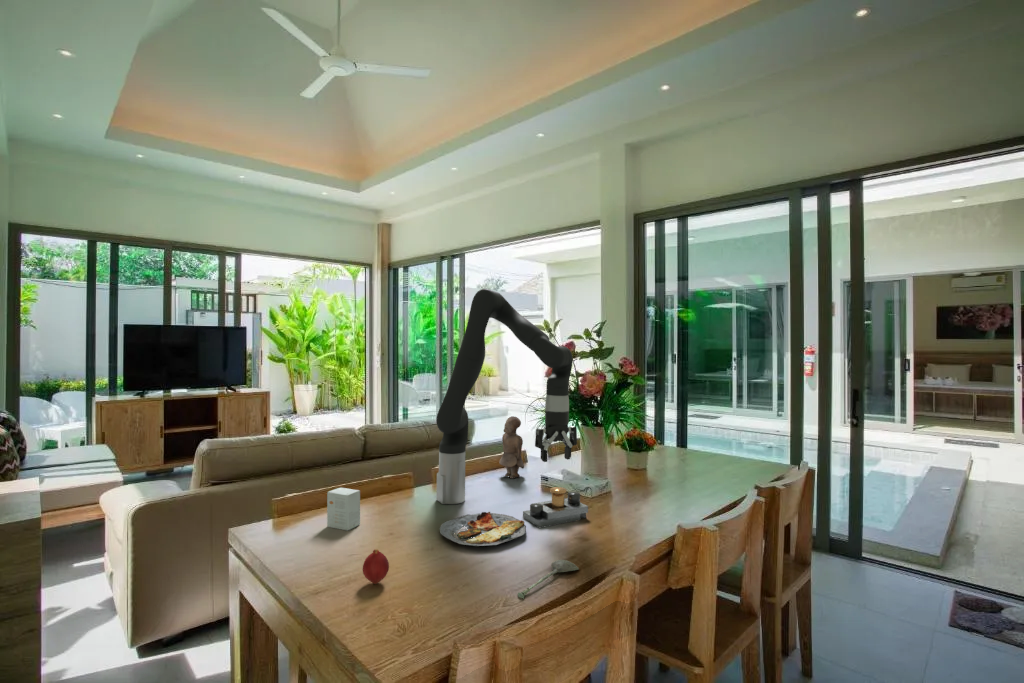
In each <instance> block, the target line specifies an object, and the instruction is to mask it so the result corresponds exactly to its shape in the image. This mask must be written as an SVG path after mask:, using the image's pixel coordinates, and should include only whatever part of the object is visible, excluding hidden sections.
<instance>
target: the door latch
mask: <svg viewBox="0 0 1024 683" xmlns="http://www.w3.org/2000/svg"><path fill="white" fill-rule="evenodd" d="M587 513H589V506H588V505H586V504H584V503H582V502H581V493H580V492H579V491H568V492H567V498H565V497H564V508H560V509H554V510H552V500H547V501H546V500H545V501H540V502H534V503H530V505H529V510H523V511H522V518H523V519H524V518H525V520H526V521H528V522H530V523H531V524H532V523H533V524H532V525H534V526H535V525H536V526H535V527H537V526H538V527H537V528H539V527H541V528H545V527H544V526H546V527H550V526H549V525H552V526H556V525H555V524H557V525H560V524H561V523H562V524H567V523H566V522H568V523H572V522H571V521H573V522H577V521H576V520H579V521H580V520H581V519H580V518H583V519H587ZM562 524H561V525H562Z"/></svg>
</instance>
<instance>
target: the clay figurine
mask: <svg viewBox="0 0 1024 683" xmlns="http://www.w3.org/2000/svg"><path fill="white" fill-rule="evenodd" d="M521 425H522V422H521V420H520V418H519V417H517V416H509V417H507V419H506V420H505V423H504V427H503V428H504V429H503V434H502V450H503V454H502V456H501V458H500V459H499V461H498V463H499V465H501V466H502V467H505V469H506V473H505V475H504V476H509V477H510V478H509V479H516V478H519V477H520V476H521V475H520V474H519V473H518V472H519V469H520V468H521V469H524V468H525V464H524V461H523V458H522V448H523V444H524V443H523V442H524V440H523V438H522V436H520V434H519V435H518V433H517V430H518V429H519V428H520V427H521ZM515 477H516V478H515Z"/></svg>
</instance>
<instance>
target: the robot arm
mask: <svg viewBox="0 0 1024 683" xmlns="http://www.w3.org/2000/svg"><path fill="white" fill-rule="evenodd" d="M490 319H494V320H496V321H498V322H499V323H502V324H503V325H504V326H506V327H507V328H508V329H509V330H510V331H511V332H512V334H513V335H514V336H515V337H516V339H518V340H519V342H521V343H522V344H523V345H524V346H526V347H527V348H528V349H529V350H531V351H532V352H533V353H535V355H536V356H537V358H538V359H539V360H540V361H541V362H542V363H543V364H544V365H545V366H547V367H548V368H550V369H551V374H550V376H549V377H548V378H547V380H546V390H545V391H546V392H545V393H546V395H545V401H544V402H545V403H544V404H545V405H544V406H545V408H544V409H545V412H544V423H545V427H544V428H539V427H537V428H535V439H534V447H535V448H538V449H540V460H541V461H542V462H544V463H547V462H548V448H549V447H550V445H551V444H552V443H553V442H554V443H556V442H562V443H563V444H564V459H565V460H568V461H569V460H570V459H571V457H572V447H573V446H577V444H578V436H577V435H578V433H577V427H576V426H574V425H569V423H570V416H569V415H570V399H569V393H570V392H569V390H570V386H569V381H570V378H571V372H572V369H573V368H572V367H573V362H574V361H573V353H572V352H571V349H570V348H568V347H566V346H565V345H564V346H562V345H561V346H560V345H559V346H557V345H556V344H554V343H553V342H552V341H551V340H550V338H549V335H547V334H546V333H545V332H543V331H542V329H540V328H539V327H537V326H536V325H535V324H533V323H532V322H531V321H529V320H528V319H526V318H525V317H524V316H523V315H522V314H520V313H519V312H518V311H517V310H516V309H515V308H514V307H513V306H512V305H511V304H510V303H509V301H508V300H507V299H506V298H505V297H504V295H502V294H501V293H499V292H497V291H494V290H491V289H487V288H482V289H479V290H478V291H477V292H476V293H475V294H474V296H473V298H472V301H471V305H470V310H469V315H468V320H467V323H466V324H467V325H466V326H465V327H466V328H465V331H464V334H463V339H462V341H461V345H460V347H459V350H458V352H457V356H456V360H455V362H454V366H453V370H452V372H451V373H452V374H451V376H450V381H449V383H448V387H447V390H446V393H445V396H444V398H443V400H442V403H441V404H440V407H439V409H438V412H437V414H436V417H435V418H436V420H435V422H436V426H437V428H438V430H439V431H440V432H442V433H443V434H442V438H441V441H440V442H439V444H438V446H439V447H438V472H436V496H435V497H436V499H435V500H436V501H437V502H439V503H440V504H441V505H456V504H462V503H465V501H466V451H467V450H466V448H467V444H468V438H469V415H468V412H467V409H466V408H465V403H466V400H467V397H468V395H469V393H470V392H471V390H472V388H474V386H475V384H476V382H477V380H478V379H479V377H480V373H481V372H482V368H483V366H484V362H485V358H486V342H485V336H486V331H487V330H486V329H487V326H488V323H489V322H490V321H489V320H490ZM568 433H569V436H568Z"/></svg>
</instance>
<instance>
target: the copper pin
mask: <svg viewBox="0 0 1024 683" xmlns="http://www.w3.org/2000/svg"><path fill="white" fill-rule="evenodd" d="M549 493H550V494H551V501H552V510H554V509H560V508H564V498H565V494H567V488H565V487H562V486H561V487H560V486H556V487H555V486H553V487H551V488H549Z"/></svg>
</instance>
